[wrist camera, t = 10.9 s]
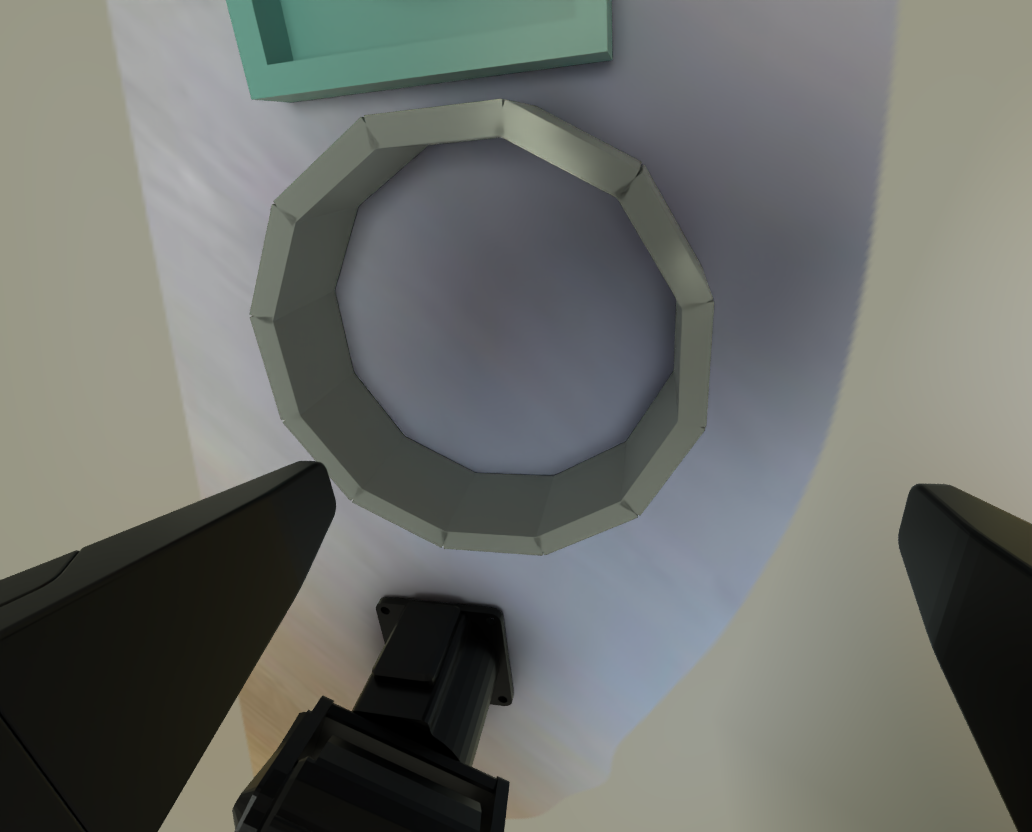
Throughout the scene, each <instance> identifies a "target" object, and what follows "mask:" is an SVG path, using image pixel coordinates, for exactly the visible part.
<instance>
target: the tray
mask: <svg viewBox="0 0 1032 832" xmlns="http://www.w3.org/2000/svg"><path fill="white" fill-rule="evenodd" d="M226 2H227V6H228V10H229V14H230V18H231V22H232V26H233V29H234V33H235V37H236V41H237V45H238V49H239V53H240V57H241V60H242V64H243V68H244V72H245V76H246V80H247V84H248V87H249V91H250V95H251V99H252V100H264V101H277V102H290V103H291V102H299V101H306V100H314V99H322V98H329V97H337V96H344V95H352V94H359V93H367V92H375V91H382V90H390V89H397V88H405V87H413V86H420V85H428V84H435V83H443V82H451V81H458V80H466V79H473V78H481V77H489V76H496V75H504V74H511V73H519V72H527V71H534V70H542V69H549V68H557V67H564V66H572V65H580V64H587V63H595V62H602V61H610V60H612V0H226Z"/></svg>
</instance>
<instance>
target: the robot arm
mask: <svg viewBox="0 0 1032 832" xmlns="http://www.w3.org/2000/svg"><path fill="white" fill-rule="evenodd" d="M335 511H336V500H335V496H334V493H333V489H332V486H331V482H330V478H329V475H328V471H327V468H326V467H325V465H324V464H323V463H321V462H317V461H298V462H296V463H293V464H291V465H288V466H286V467H283V468H281V469H278V470H276V471H273V472H271V473H268V474H266V475H263V476H261V477H258V478H256V479H253V480H251V481H248V482H246V483H243V484H241V485H238V486H236V487H233V488H231V489H228V490H226V491H223V492H221V493H218V494H216V495H213V496H211V497H208V498H206V499H203V500H201V501H198V502H196V503H193V504H191V505H188V506H186V507H183V508H181V509H178V510H176V511H173V512H171V513H169V514H166V515H163V516H161V517H158V518H156V519H154V520H151V521H148V522H146V523H143V524H141V525H139V526H136V527H133V528H131V529H128V530H126V531H123V532H121V533H118V534H116V535H114V536H111V537H109V538H106V539H104V540H101V541H98V542H96V543H93V544H91V545H89V546H86V547H84V548H82V549H81V550H80V551H77V550H76V551H73V552H71V553H68V554H66V555H63V556H61V557H59V558H56V559H53V560H51V561H48V562H46V563H43V564H40V565H38V566H36V567H33V568H30V569H28V570H25V571H23V572H20V573H17V574H15V575H12V576H10V577H7V578H5V579H2V580H0V832H158V830H159V828H160V827H161V825H162V823H163V822H164V820H165V818H166V817H167V815H168V813H169V812H170V810H171V808H172V807H173V805H174V803H175V801H176V800H177V798H178V796H179V795H180V793H181V791H182V790H183V788H184V786H185V784H186V783H187V781H188V779H189V778H190V776H191V774H192V773H193V771H194V769H195V768H196V766H197V764H198V762H199V761H200V759H201V757H202V756H203V754H204V752H205V751H206V749H207V747H208V745H209V744H210V742H211V740H212V739H213V737H214V735H215V734H216V732H217V730H218V728H219V727H220V725H221V723H222V722H223V720H224V718H225V717H226V715H227V713H228V711H229V710H230V708H231V706H232V705H233V703H234V701H235V699H236V698H237V696H238V694H239V693H240V691H241V689H242V688H243V686H244V684H245V683H246V681H247V679H248V677H249V676H250V674H251V672H252V671H253V669H254V667H255V666H256V664H257V662H258V660H259V659H260V657H261V655H262V654H263V652H264V650H265V649H266V647H267V645H268V643H269V642H270V640H271V638H272V637H273V635H274V633H275V632H276V630H277V628H278V626H279V625H280V623H281V621H282V620H283V618H284V616H285V615H286V613H287V611H288V610H289V608H290V606H291V604H292V603H293V601H294V599H295V597H296V596H297V594H298V592H299V590H300V588H301V586H302V584H303V582H304V580H305V578H306V576H307V574H308V572H309V570H310V568H311V565H312V563H313V561H314V559H315V557H316V554H317V552H318V550H319V548H320V546H321V544H322V541H323V539H324V537H325V535H326V533H327V531H328V528H329V526H330V524H331V522H332V520H333V517H334V515H335ZM898 541H899V542H898V543H899V549H900V552H901V555H902V558H903V561H904V564H905V567H906V570H907V574H908V576H909V580H910V583H911V586H912V589H913V592H914V595H915V598H916V601H917V604H918V607H919V610H920V613H921V616H922V619H923V622H924V625H925V629H926V632H927V634H928V637H929V640H930V643H931V645H932V648H933V650H934V653H935V655H936V657H937V660H938V662H939V664H940V667H941V669H942V671H943V673H944V675H945V677H946V679H947V681H948V684H949V686H950V688H951V690H952V692H953V694H954V696H955V698H956V701H957V703H958V705H959V707H960V709H961V711H962V714H963V716H964V718H965V720H966V722H967V724H968V726H969V729H970V731H971V733H972V735H973V737H974V739H975V741H976V744H977V746H978V748H979V750H980V752H981V754H982V756H983V758H984V760H985V763H986V765H987V767H988V769H989V771H990V773H991V776H992V777H993V780H994V782H995V784H996V786H997V788H998V790H999V793H1000V795H1001V797H1002V799H1003V801H1004V803H1005V805H1006V808H1007V810H1008V812H1009V814H1010V816H1011V818H1012V820H1013V823H1014V824H1015V827H1016V829H1017V831H1018V832H1032V524H1031V523H1029V522H1026V521H1024V520H1022V519H1020V518H1018V517H1016V516H1014V515H1012V514H1010V513H1007V512H1006V511H1004V510H1001V509H999V508H997V507H995V506H993V505H991V504H989V503H987V502H985V501H983V500H981V499H979V498H976V497H974V496H972V495H970V494H968V493H966V492H964V491H962V490H960V489H958V488H956V487H953V486H951V485H946V484H916V485H914V486H913V487H912V488H911V490H910V492H909V494H908V498H907V502H906V506H905V510H904V514H903V517H902V522H901V525H900V529H899V534H898ZM386 607H387V608H386ZM376 611H377V615H378V619H379V623H380V626H381V630H382V634H383V638H384V641H385V646H384V648H383V650H382V652H381V653H380V655H379V657H378V659H377V661H376V663H375V665H374V667H373V669H372V673H371V675H370V677H369V679H368V681H367V683H366V685H365V687H364V689H363V691H362V693H361V694H360V696H359V698H358V700H357V702H356V704H355V706H354V708H353V710H352V711H350V710H347V709H345V708H343V707H341V706H339V705H337V704H334V703H333V702H334V700H332V699H329V698H327V697H325V696H322V697H321V698H320V700H319V701H318V703H317V704H316V706H315V707H314V709H313V710H312V711H310V710H308V711H307V712H302V713H299V715H298V716H297V718H296V720H295V721H294V723H293V725H292V726H291V728H290V730H289V731H288V733H287V735H286V736H285V738H284V739H283V741H282V743H281V744H280V746H279V747H278V749H277V750H276V751H275V753H274V754H273V755H272V757H271V758H270V759H269V760H268V761H267V763H266V764H265V765H264V766H263V768H262V769H261V770H260V771H259V772H258V774H257V775H256V776H255V777H254V779H253V780H252V781H251V782H250V783H249V785H248V786H247V787H246V788H245V790H244V791H243V792H242V793H241V795H240V796H239V798H238V800H237V801H236V803H235V805H234V807H233V810H232V812H233V818H234V825H235V832H504V827H505V818H506V809H507V801H508V792H509V781H507V780H505V779H503V778H500V777H498V776H497V778H495V777H493V776H490V775H488V774H486V773H484V772H482V771H480V770H477V769H475V768H473V767H472V764H473V761H474V757H475V754H476V750H477V747H478V743H479V740H480V736H481V733H482V729H483V726H484V722H485V719H486V715H487V712H488V708H489V705H490V704H493V705H501V706H508V705H510V704H511V703H512V700H513V695H514V692H513V685H512V678H511V670H510V663H509V656H508V648H507V641H506V634H505V626H504V619H503V614H502V613H501V612H500V610H498V609H496V608H492V607H483V606H472V605H462V604H451V603H441V602H430V601H420V600H409V599H399V598H388V597H385V598H382V599H380V601H379V603H378V604H377V606H376ZM490 617H491V618H490ZM492 618H494V619H492Z"/></svg>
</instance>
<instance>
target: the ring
mask: <svg viewBox="0 0 1032 832" xmlns="http://www.w3.org/2000/svg"><path fill="white" fill-rule="evenodd" d="M493 138H504V139H506V140H508V141H510V142H511V143H513V144H515V145H517V146H519V147H521V148H523V149H525V150H527V151H528V152H530V153H532V154H534V155H536V156H538V157H540V158H542V159H544V160H546V161H547V162H549V163H551V164H553V165H555V166H557V167H559V168H561V169H563V170H565V171H566V172H568V173H570V174H572V175H574V176H576V177H578V178H580V179H582V180H584V181H585V182H587V183H589V184H591V185H593V186H595V187H597V188H599V189H601V190H603V191H604V192H606V193H608V194H610V195H612V196H614V197H616V198H617V199H618V200H619V202H620V204H621V206H622V207H623V209H624V211H625V212H626V214H627V216H628V217H629V219H630V221H631V223H632V224H633V226H634V228H635V229H636V231H637V233H638V235H639V236H640V238H641V240H642V241H643V243H644V245H645V246H646V248H647V250H648V252H649V253H650V255H651V257H652V258H653V260H654V262H655V264H656V265H657V267H658V269H659V270H660V272H661V274H662V275H663V277H664V279H665V281H666V282H667V284H668V286H669V287H670V289H671V291H672V293H673V294H674V296H675V298H676V317H675V347H674V371H673V373H672V374H671V376H670V377H669V379H668V380H667V382H666V383H665V385H664V386H663V387H662V389H661V390H660V392H659V393H658V395H657V396H656V398H655V399H654V401H653V402H652V404H651V405H650V407H649V408H648V410H647V411H646V413H645V414H644V416H643V417H642V419H641V420H640V422H639V423H638V425H637V426H636V428H635V429H634V431H633V432H632V433H631V435H630V436H629V438H628V439H627V441H626V442H624V443H622V444H620V445H618V446H616V447H614V448H612V449H609V450H607V451H605V452H603V453H601V454H599V455H597V456H595V457H593V458H590V459H588V460H586V461H584V462H582V463H580V464H578V465H576V466H574V467H572V468H569V469H567V470H565V471H563V472H561V473H559V474H557V475H555V476H543V475H517V474H491V473H475V472H473V471H471V470H469V469H467V468H465V467H463V466H461V465H459V464H457V463H455V462H453V461H451V460H449V459H447V458H445V457H444V456H442V455H440V454H438V453H436V452H434V451H432V450H430V449H428V448H426V447H424V446H422V445H420V444H418V443H416V442H414V441H412V440H411V439H409V438H407V437H405V436H404V435H403V434H402V433H401V431H400V430H399V429H398V428H397V426H396V425H395V424H394V423H393V421H392V420H391V419H390V417H389V416H388V415H387V414H386V412H385V411H384V410H383V409H382V407H381V406H380V405H379V404H378V402H377V401H376V400H375V399H374V397H373V396H372V395H371V394H370V392H369V391H368V390H367V389H366V387H365V386H364V385H363V384H362V382H361V381H360V380H359V379H358V377H357V376H356V375H355V374H354V372H353V368H352V363H351V359H350V355H349V350H348V346H347V342H346V337H345V333H344V329H343V325H342V320H341V316H340V312H339V307H338V303H337V299H336V295H335V287H336V284H337V280H338V277H339V273H340V270H341V266H342V262H343V259H344V255H345V252H346V248H347V245H348V241H349V238H350V234H351V231H352V227H353V224H354V220H355V216H356V213H357V209H358V206H359V205H360V204H362V203H363V202H364V201H365V200H366V199H367V198H368V197H370V196H371V195H372V194H373V193H374V192H375V191H377V190H378V189H379V188H380V187H381V186H382V185H383V184H385V183H386V182H387V181H388V180H389V179H390V178H391V177H393V176H394V175H395V174H396V173H397V172H398V171H399V170H401V169H402V168H403V167H404V166H405V165H406V164H408V163H409V162H410V161H411V160H412V159H413V158H414V157H416V156H417V155H418V154H419V153H420V152H421V151H422V150H424V149H425V148H426V147H427V146H428V145H436V144H445V143H455V142H464V141H474V140H483V139H493ZM641 163H642V162H641V161H639V160H637V159H635V158H633V157H631V156H630V155H628V154H626V153H624V152H622V151H620V150H618V149H616V148H614V147H612V146H611V145H609V144H607V143H605V142H603V141H601V140H599V139H597V138H595V137H594V136H592V135H590V134H588V133H586V132H584V131H582V130H580V129H578V128H577V127H575V126H573V125H571V124H569V123H567V122H565V121H563V120H561V119H559V118H558V117H556V116H554V115H552V114H550V113H548V112H546V111H544V110H542V109H541V108H539V107H537V106H534V105H529V104H525V103H520V102H515V101H510V100H505V99H495V100H487V101H479V102H470V103H462V104H454V105H446V106H438V107H429V108H421V109H413V110H405V111H396V112H388V113H380V114H372V115H364V117H360V118H359V119H358V120H357V121H356V122H355V123H354V124H353V125H352V126H351V127H350V128H349V129H348V130H347V131H346V132H345V133H344V134H343V135H342V136H341V137H340V138H339V139H338V140H337V141H336V142H334V143H333V144H332V145H331V146H330V147H329V148H328V149H327V150H326V151H325V152H324V153H323V154H322V155H321V156H320V157H319V158H318V159H317V160H316V161H315V162H314V163H313V164H312V165H311V166H310V167H309V168H308V169H307V170H306V171H304V172H303V173H302V174H301V175H300V176H299V177H298V178H297V179H296V180H295V181H294V182H293V183H292V184H291V185H290V186H289V187H288V188H287V189H286V190H285V191H284V192H283V193H282V194H281V195H280V196H279V197H278V198H277V199H276V200H274V201H273V202H274V203H275V204H272V206H271V211H270V216H269V221H268V226H267V231H266V236H265V241H264V246H263V251H262V256H261V261H260V266H259V270H258V275H257V280H256V285H255V290H254V295H253V300H252V305H251V310H250V315H252V316H251V317H250V320H251V323H252V326H253V329H254V333H255V336H256V339H257V343H258V346H259V349H260V352H261V356H262V359H263V362H264V365H265V369H266V372H267V375H268V379H269V382H270V385H271V388H272V392H273V395H274V398H275V402H276V405H277V408H278V411H279V415H280V418H281V420H285V421H283V423H284V425H285V426H286V427H287V428H288V429H289V430H290V432H291V433H292V434H293V435H294V436H295V437H296V438H297V440H298V441H299V442H300V443H301V444H302V445H303V447H304V448H305V449H306V450H307V451H308V452H309V454H310V455H311V456H312V457H313V458H314V459H315V461H317V462H321V463H323V464H324V465H325V467H326V468H327V471H328V475H329V477H330V478H331V479H332V480H333V481H334V483H335V484H336V485H337V486H338V487H339V488H340V489H341V491H342V492H343V493H344V494H345V495H346V496H347V498H348V499H349V500H352V499H353V501H352V502H353V503H355V504H357V505H359V506H361V507H363V508H365V509H366V510H368V511H370V512H372V513H374V514H376V515H378V516H380V517H382V518H384V519H386V520H388V521H390V522H392V523H394V524H396V525H398V526H400V527H402V528H404V529H406V530H408V531H409V532H411V533H413V534H415V535H417V536H419V537H421V538H423V539H425V540H427V541H429V542H431V543H433V544H435V545H437V546H439V547H441V548H442V546H444V549H456V550H470V551H484V552H498V553H512V554H526V555H540V556H542V555H543V553H544V555H547V554H549V553H552V552H554V551H557V550H559V549H562V548H564V547H567V546H569V545H572V544H574V543H576V542H579V541H581V540H584V539H586V538H589V537H591V536H594V535H596V534H599V533H601V532H603V531H606V530H608V529H611V528H613V527H616V526H618V525H621V524H623V523H626V522H628V521H631V520H633V519H635V518H638V515H639V516H640V515H641V514H642V513H643V511H644V510H645V509H646V507H647V506H648V505H649V503H650V502H651V501H652V499H653V498H654V497H655V495H656V494H657V493H658V491H659V490H660V489H661V488H662V486H663V485H664V484H665V482H666V481H667V480H668V478H669V477H670V476H671V474H672V473H673V472H674V470H675V469H676V468H677V466H678V465H679V464H680V462H681V461H682V460H683V458H684V457H685V456H686V454H687V453H688V452H689V451H690V449H691V448H692V447H693V445H694V444H695V443H696V441H697V440H698V439H699V437H700V436H701V435H702V433H703V432H704V431H705V427H706V424H707V408H708V392H709V376H710V360H711V345H712V329H713V313H714V301H713V296H712V294H711V291H710V288H709V285H708V282H707V280H706V277H705V274H704V271H703V269H702V266H701V264H700V263H699V261H698V259H697V257H696V255H695V254H694V252H693V250H692V248H691V247H690V245H689V243H688V241H687V239H686V238H685V236H684V234H683V232H682V230H681V229H680V227H679V225H678V223H677V222H676V220H675V218H674V216H673V214H672V213H671V211H670V209H669V207H668V206H667V204H666V202H665V200H664V198H663V197H662V195H661V193H660V191H659V190H658V188H657V186H656V184H655V182H654V181H653V179H652V177H651V175H650V174H649V172H648V170H647V168H646V166H645V165H643V166H641ZM640 166H641V167H640Z"/></svg>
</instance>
